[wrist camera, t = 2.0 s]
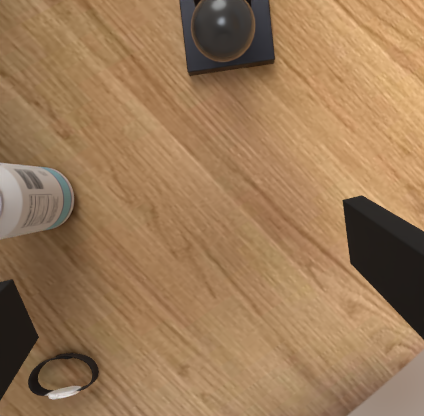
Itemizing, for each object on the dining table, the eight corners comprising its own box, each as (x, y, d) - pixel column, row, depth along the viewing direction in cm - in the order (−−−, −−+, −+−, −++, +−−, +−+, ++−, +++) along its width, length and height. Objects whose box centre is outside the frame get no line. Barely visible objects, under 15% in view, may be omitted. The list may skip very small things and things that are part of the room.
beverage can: (16, 171, 42) (-76, 165, 30) (74, 164, 41) (3, 154, 29) (25, 231, 42) (-64, 248, 30) (82, 225, 41) (15, 240, 29)
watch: (43, 393, 43) (24, 411, 39) (35, 354, 43) (15, 369, 39) (105, 384, 42) (91, 403, 38) (97, 345, 42) (83, 360, 38)
